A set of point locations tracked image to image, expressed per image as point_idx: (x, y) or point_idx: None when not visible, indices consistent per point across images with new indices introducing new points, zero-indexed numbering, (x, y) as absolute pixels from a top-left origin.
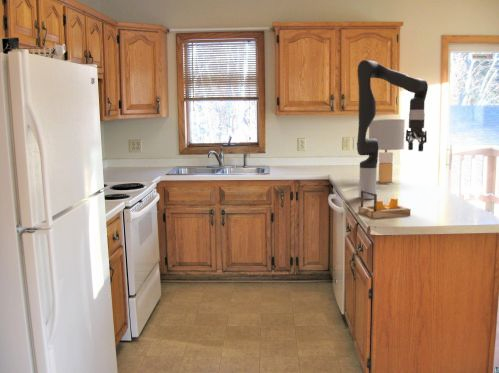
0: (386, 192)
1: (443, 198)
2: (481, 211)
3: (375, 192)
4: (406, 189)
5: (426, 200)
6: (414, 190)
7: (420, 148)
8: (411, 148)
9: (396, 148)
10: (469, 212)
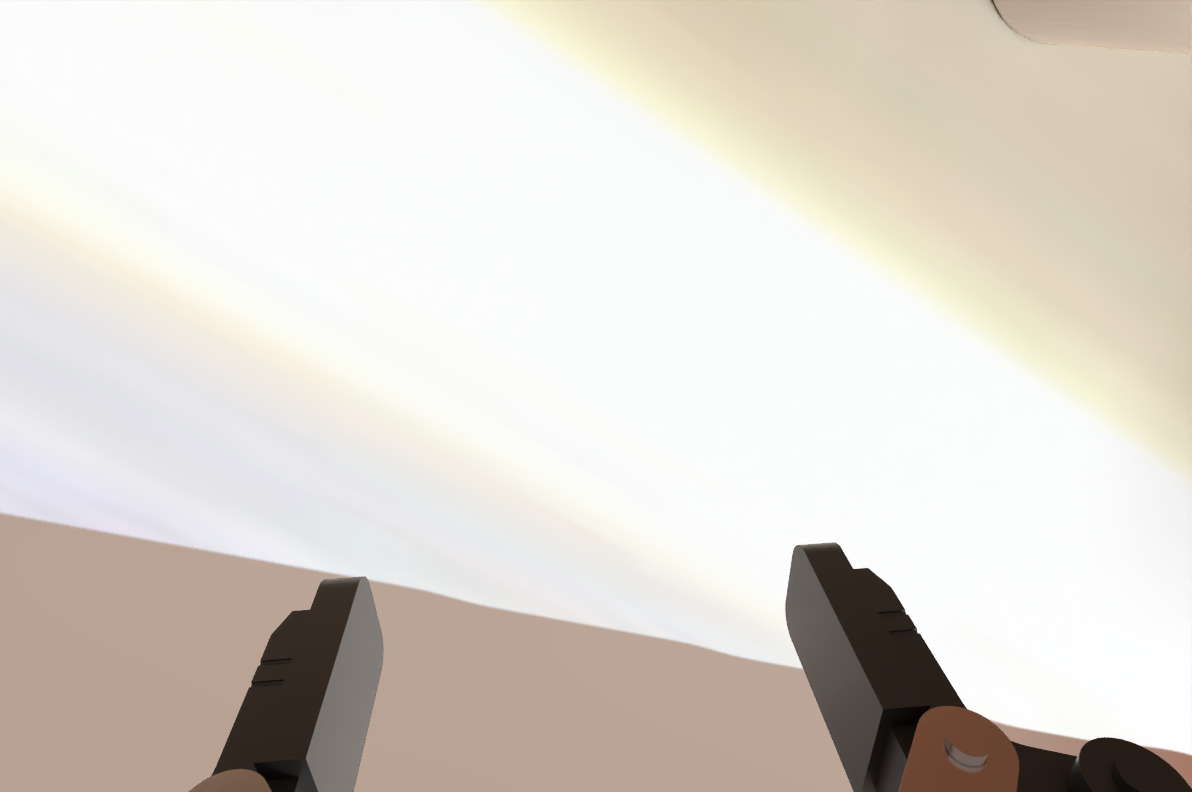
0: (1171, 311)
1: (700, 560)
2: (158, 529)
3: (1037, 6)
4: (1151, 522)
5: (682, 417)
6: (1078, 549)
7: (277, 653)
8: (802, 620)
9: None
10: (122, 440)
